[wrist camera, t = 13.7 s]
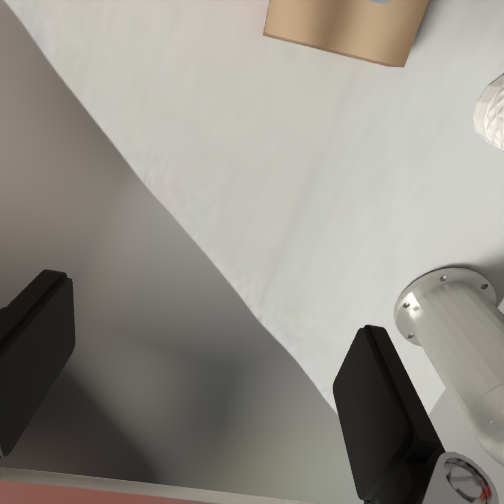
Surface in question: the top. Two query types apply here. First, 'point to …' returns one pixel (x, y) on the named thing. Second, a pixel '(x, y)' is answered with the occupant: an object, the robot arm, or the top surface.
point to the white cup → (491, 114)
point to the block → (379, 1)
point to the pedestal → (349, 27)
